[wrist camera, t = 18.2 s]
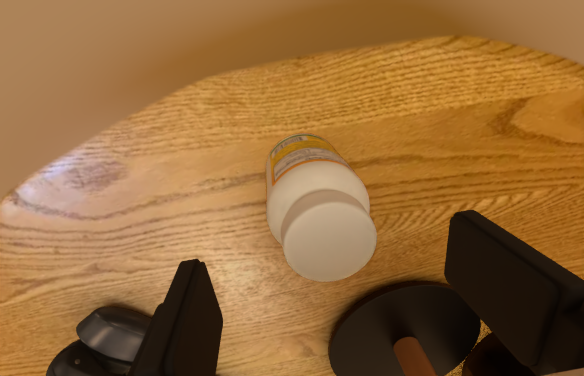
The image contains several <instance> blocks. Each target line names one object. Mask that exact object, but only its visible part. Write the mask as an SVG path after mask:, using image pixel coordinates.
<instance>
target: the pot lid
mask: <svg viewBox="0 0 584 376" xmlns="http://www.w3.org/2000/svg"><path fill="white" fill-rule="evenodd" d="M480 327H481V320H480V317H479V316H478V315H477V314H476V313H475V312H474V311H473V310H472V308H471V307H470V306H469V305H468V304H467V303H466V302H465V301H464V300H463V298H462V297H461V296H460V295H459V294H458V293H457V292H456V291H455V290H454V288H453V287H452V286H451V285H448V284H445V283H440V282H433V281H414V282H406V283H401V284H397V285H393V286H390V287H387V288H384V289H382V290H380V291H378V292H375V293H373V294H371V295H370V296H368V297H366V298H364V299H363V300H361V301H360V302H359V303H357V304H356V305H354V306H353V307H352V308H351V309H350V310H349V311H348V312H347V313H346V314H345V315H344V316H343V317H342V318H341V319H340V321H339V322H338V324H337V325H336V327H335V328H334V330H333V332H332V335H331V338H330V341H329V347H328V355H329V360H330V364H331V367H332V369H333V372H334V373H335V374H336V376H445V375H446V374H448V373H449V372H450V371H452V370H453V369H454V368H456V367H457V366H458V365H459V364H460V363H461V362H462V361H463V360H464V359H465V358H466V357H467V356H468V354H469V353H470V352H471V350H472V349H473V347H474V346H475V344H476V342H477V339H478V337H479V333H480Z"/></svg>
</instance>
